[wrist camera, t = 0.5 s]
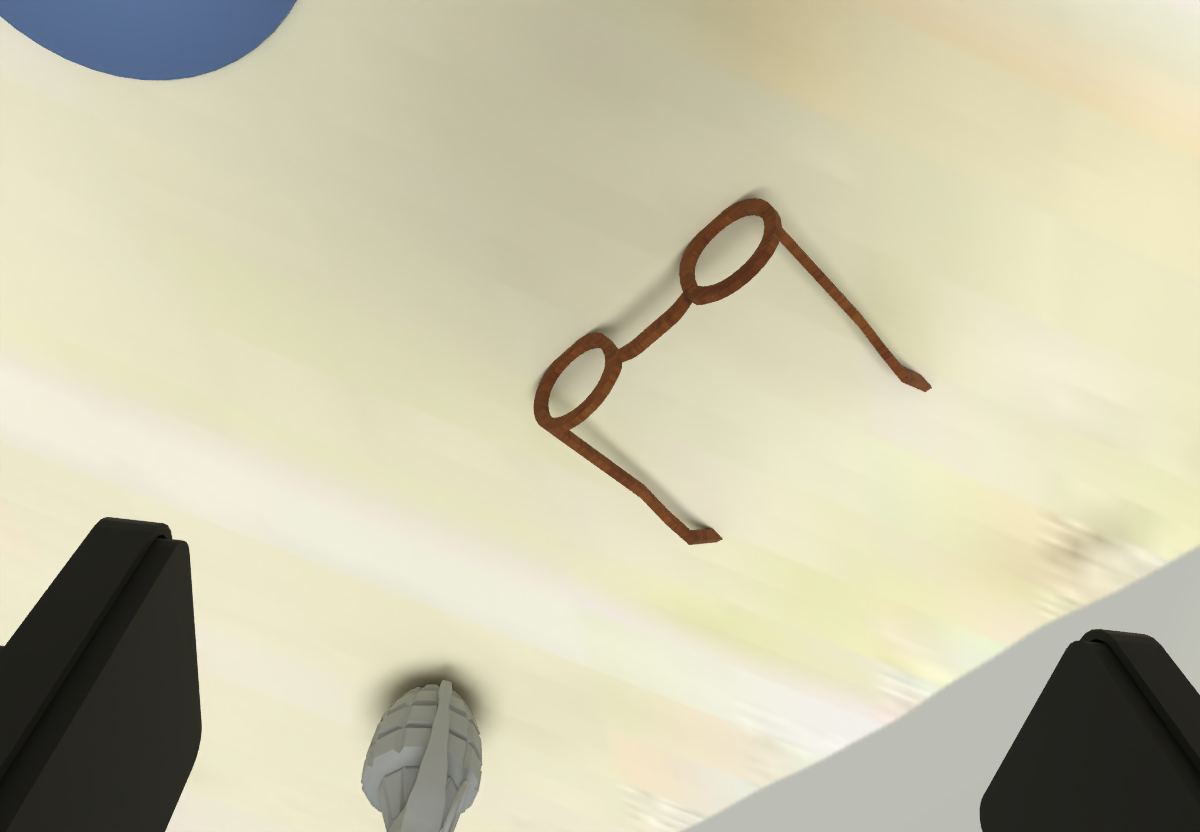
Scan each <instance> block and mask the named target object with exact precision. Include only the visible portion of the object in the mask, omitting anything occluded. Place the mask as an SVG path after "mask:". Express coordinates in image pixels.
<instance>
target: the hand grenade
mask: <svg viewBox="0 0 1200 832" xmlns="http://www.w3.org/2000/svg"><path fill="white" fill-rule="evenodd" d="M479 734H480V733H479V730H478V727H477V725H476V722H475V720H474V717H473V715H472V713H471V711H470V709H469V707H468V706H467V704H466V702H465V701H464V700H463V699H462V698H461V697H460V696H459V695H458V694H457V693H456V692H455V691H454V690H452V684H451V682H450V681H446V680H442V682H441V684H440V687H439V686H438V685H433V684H427V685H426V686H425V687H423V688H422V687H416V688H414V689H412V690H410V691H409V692H407V693H406V694H404V695H402V697H401V698H400V699H398V700H397V701H396V702H395V703H394V705H392V706H391V707H390V709H389V710H388V711H387V712H386V713H385V715H384V716H383V717H382V719H381V722H380V723H379V724H378V726H377V729H376V731H375V734H374V736H373V739H372V741H371V744H370V747H369V750H368V752H367V755H366V760H365V762H364V767H363V773H362V779H361V783H362V784H363V786H362V790H363V792H364V793H365V795H366V797H367V798H368V800H369V802H370V803H371V805H372V806H373V807H375V808H376V809H377V810H378V811H380V812H382V815H383V819H384V823H385V826H386V830H387V832H440V831H441V830H442V831H441V832H454V829H455V827H456V824H457V822H458V819H459V816H460V814H461V813H463V812H465V810H466V809H467V808H469V807H470V806H471V805H472V803H473V801H474V799H475V797H476V795H477V792H478V790H479V785H480V779H481V773H482V772H481V766H482V748H481V739H480V737H479Z"/></svg>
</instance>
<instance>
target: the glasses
mask: <svg viewBox="0 0 1200 832" xmlns="http://www.w3.org/2000/svg"><path fill="white" fill-rule="evenodd" d="M750 215H756V216H760V217H762V218H763V220H764V226H765V228H764V235H763V238H762V241H761V243H760V244H759V246H758V248H757V250H756V251H755V252H754V254H753V255H752V256H751V257H750V259H749V260H748V261H747V262H746V263H745V264H744V265H743V266H742V267H741V268H740V269H739V270H737V271H736V272H735V273H733V274H732V275H731V276H729V277H728V278H726V279H725V280H723V281H721V282H719V283H717V284H714V285H710V286H704V287H702V286H698V285H697V283H696V280H695V265H696V262H697V259H698V258H699V256H700V254H701V252H702V251H703V249H704V248H705V247H706V245H707V244H708V243H709V242H710V241H711V240H712V239H713V238H714V237H715V236H716V235H717V234H718V233H719V232H720V231H721V230H722V229H724V228H725V227H726V226H728V225H729V224H731V223H732V222H734V221H736V220H738V219H740V218H742V217H745V216H750ZM779 241H780V242H781V243H782V244H783V245H784V246H785V247H786V248H787V249H788V250H789V252H790V253H791V254H792V255H793V256H794V257H795V258H796V259H797V260H798V261H799V262H800V263H801V265H802V266H803V267H804V268H805V269H806V270H807V271H808V272H809V273H810V274H811V275H812V276H813V278H814V279H815V280H816V281H817V282H818V283H819V284H820V285H821V286H822V287H823V288H824V289H825V291H826V292H827V293H828V294H829V295H830V296H831V297H832V298H833V299H834V300H835V301H836V302H837V304H838V305H839V306H840V307H841V308H842V309H843V310H844V311H845V312H846V313H847V314H848V315H849V317H850V318H851V319H852V320H853V321H854V322H855V323H856V324H857V325H858V326H859V328H860V329H861V330H862V331H863V333H864V334H865V335H866V337H867V338H868V339H869V341H870V342H871V343H872V345H873V346H874V347H875V349H876V350H877V351H878V353H879V354H880V355H881V357H882V358H883V359H884V360H885V362H886V363H887V364H888V365H889V367H890V368H891V369H892V370H893V371H894V373H895V374H896V375H897V376H898V378H899V379H900V380H901V381H902V382H903V383H906V384H908V385H910V386H913V387H915V388H917V389H920V390H922V391H924V392H926V391H927V390H929V389H931V388H932V387H931V385H930V384H929V383H928V382H927V381H926V380H925V379H924V378H923V377H922V376H921V375H920V374H917V373H915V372H913V371H911V370H909V369H907V368H905V367H903V366H902V365H901V364H900V363H899V362H898V361H897V359H896V358H895V357H894V356H893V355H892V353H891V352H890V351H889V350H888V348H887V347H886V346H885V345H884V344H883V342H882V341H881V340H880V338H879V337H878V336H877V335H876V333H875V332H874V331H873V329H872V328H871V327H870V325H869V324H868V323H867V322H866V320H865V319H864V318H863V316H862V315H861V314H860V313H859V312H858V311H857V309H856V308H855V307H854V306H853V305H852V304H851V303H850V302H849V301H848V300H847V298H846V297H845V296H844V295H843V294H842V293H841V292H840V291H839V290H838V289H837V287H836V286H835V285H834V284H833V283H832V282H831V281H830V280H829V279H828V277H827V276H826V275H825V274H824V273H823V272H822V271H821V270H820V269H819V268H818V266H817V265H816V264H815V263H814V262H813V261H812V260H811V259H810V258H809V257H808V255H807V254H806V253H805V252H804V251H803V250H802V249H801V248H800V247H799V246H798V244H797V243H796V242H795V241H794V240H793V239H792V238H791V237H790V236H789V235H788V233H787V232H786V231H785V230H784V229H783V228H782V224H781V218H780V216H779V214H778V213H777V211H776V210H775V209H774V208H773V207H772V206H771V205H770V204H769V203H768V202H766V201H764V200H762V199H756V198H754V199H747V200H744V201H741V202H738V203H736V204H734V205H732V206H730V207H729V208H727V209H726V210H724V211H723V212H722V213H721V214H720V215H718V216H717V217H716V218H715V219H714V220H713V221H712V222H711V223H709V224H708V225H707V226H706V227H705V228H704V229H703V230H702V231H700V232H699V233H698V234H697V235H696V237H695V238H694V239H693V240H692V242H691V243H690V245H689V246H688V247H687V249H686V251H685V253H684V255H683V257H682V260H681V263H680V272H679V276H680V283H681V287H682V290H683V293H682V294H681V296H680V297H679V298H678V299H677V301H676V302H675V303H674V304H673V305H672V306H671V307H670V308H669V309H668V310H667V311H666V312H665V313H664V314H662V315H661V316H660V317H659V318H658V319H657V320H655V321H654V322H653V323H652V324H651V325H650V326H649V327H647V328H646V329H645V330H644V331H643V332H642V333H640V334H639V335H638V336H637V337H636V338H635V339H634V340H632V341H631V342H630V343H628V344H627V345H625V346H624V347H622V348H620V349H618V348H617V347H616V345H615V344H614V343H613V342H612V341H611V340H610V339H609V338H607V337H606V336H605V335H603V334H602V333H593V334H589V335H587V336H585V337H583V338H581V339H579V340H578V341H576V342H575V343H574V344H573V345H572V346H571V347H570V348H569V349H567V350H566V351H565V352H564V353H563V354H562V355H561V356H559V357H558V358H557V359H556V360H555V361H554V362H553V363H552V364H551V366H550V367H549V369H548V370H547V371H546V373H545V374H544V376H543V378H542V379H541V381H540V383H539V386H538V388H537V391H536V395H535V399H534V415H535V419H536V421H537V422H538V424H539V425H540V426H541V427H543V428H544V429H545V430H547V431H548V432H549V433H551V434H552V435H554V436H555V437H556V438H558V439H559V440H561V441H562V442H563V443H565V444H566V445H568V446H569V447H570V448H572V449H573V450H575V451H576V452H577V453H579V454H580V455H582V456H583V457H584V458H586V459H587V460H589V461H590V462H591V463H593V464H594V465H596V466H597V467H598V468H600V469H601V470H602V471H604V472H605V473H607V474H608V475H609V476H611V477H612V478H614V479H615V480H616V481H618V482H619V483H621V484H622V485H623V486H625V487H626V488H628V489H629V490H630V491H632V492H633V493H635V494H636V495H637V496H639V497H640V498H641V499H642V500H643V501H644V502H645V503H646V504H647V505H648V506H649V507H650V508H651V509H652V510H653V511H654V512H655V513H656V514H657V515H658V516H659V517H660V518H661V520H662V521H663V522H664V523H665V524H666V525H668V526H669V527H670V528H671V529H672V530H673V531H674V532H675V533H677V534H678V535H679V536H680V537H681V538H682V539H683V540H684V541H686V542H687V543H688V544H689V545H693V544H703V543H713V542H718V541H720V540H722V538H721V537H720V536H719V534H718V533H717V532H716V531H715V530H714V529H704V530H690V529H689V528H687V527H686V526H685V525H684V524H683V523H682V522H681V521H680V520H679V519H678V518H676V517H675V516H674V515H673V514H672V513H671V512H670V511H669V510H668V509H667V508H666V507H665V506H664V505H663V504H662V503H661V502H660V501H659V500H658V499H657V498H656V497H655V496H654V495H653V494H652V493H651V492H650V491H649V490H648V489H647V487H646V486H645V485H643V484H642V483H641V482H639V481H638V480H637V479H635V478H634V477H632V476H631V475H630V474H628V473H627V472H626V471H624V470H623V469H622V468H620V467H619V466H617V465H616V464H615V463H613V462H612V461H611V460H609V459H608V458H606V457H605V456H604V455H602V454H601V453H600V452H598V451H597V450H595V449H594V448H593V447H591V446H590V445H589V444H587V443H586V442H585V441H583V440H582V439H580V438H579V437H578V436H576V435H575V434H574V433H572V432H571V431H569V430H570V429H572V428H574V427H575V426H577V425H579V424H580V423H581V422H583V421H584V420H585V419H587V418H588V417H589V416H590V415H591V414H592V413H593V412H594V411H595V410H596V409H597V408H598V407H599V406H600V405H601V403H602V402H603V401H604V400H605V398H606V397H607V395H608V394H609V393H610V391H611V389H612V387H613V386H614V384H615V382H616V380H617V378H618V376H619V374H620V372H621V369H622V362H624V361H627V360H630V359H632V358H634V357H636V356H637V355H639V354H640V353H642V352H643V351H644V350H645V349H646V348H648V347H649V346H650V345H651V344H652V343H653V342H655V341H656V340H657V339H658V338H659V337H661V336H662V335H663V334H664V333H665V332H666V331H668V330H669V329H670V328H671V327H672V326H673V325H674V324H676V323H677V322H678V321H679V320H680V319H681V317H682V316H683V315H684V314H685V312H686V311H687V309H688V308H689V306H690V305H691V303H692V302H693V303H694V304H696V305H703V304H708V303H712V302H715V301H718V300H721V299H723V298H725V297H727V296H729V295H731V294H732V293H734V292H735V291H737V290H739V289H740V288H741V287H742V286H744V285H745V284H746V283H748V282H749V281H750V280H751V279H752V278H753V277H754V276H755V275H756V274H757V273H758V272H759V271H760V270H761V269H762V268H763V267H764V266H765V264H766V263H767V262H768V260H769V259H770V258H771V256H772V255H773V253H774V251H775V249H776V248H777V246H778V244H779ZM594 348H601V349H602V350H603V353H604V355H605V368H604V372H603V374H602V376H601V379H600V380H599V382H598V384H597V386H596V387H595V389H594V390H593V391H592V393H591V394H590V395H589V396H588V397H587V398H586V400H585V401H584V402H582V403H581V404H580V405H579V406H578V407H577V408H575V409H574V410H573V411H571V412H570V413H568V414H566V415H564V416H561V417H558V418H552V417H551V416H550V413H549V409H548V401H549V396H550V392H551V390H552V387H553V385H554V383H555V381H556V380H557V378H558V377H559V375H560V374H561V373H562V371H563V370H564V369H565V368H566V367H567V366H568V365H569V364H570V363H571V362H572V361H573V360H574V359H576V358H577V357H578V356H579V355H581V354H583V353H584V352H586V351H588V350H590V349H594Z"/></svg>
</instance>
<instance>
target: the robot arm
mask: <svg viewBox="0 0 1200 832" xmlns="http://www.w3.org/2000/svg"><path fill="white" fill-rule="evenodd" d="M201 732H202V723H201V709H200V695H199V681H198V666H197V652H196V638H195V624H194V610H193V595H192V581H191V567H190V553H189V547H188V544H187V542H185V541H182V540H174V539H172V535H171V530H170V529H169V527H168V525H166V524H164V523H156V522H147V521H138V520H129V519H120V518H111V517H106V518H103V519H101V520H100V521H99V522H98V523H97V524H96V525H95V526H94V527H93V529H92V530H91V531H90V533H89V534H88V535H87V537H86V538H85V539H84V541H83V542H82V543H81V545H80V546H79V547H78V549H77V550H76V551H75V553H74V554H73V555H72V557H71V558H70V559H69V561H68V562H67V563H66V565H65V566H64V567H63V569H62V570H61V571H60V573H59V574H58V575H57V577H56V578H55V579H54V581H53V582H52V583H51V585H50V586H49V588H48V589H47V590H46V592H45V593H44V594H43V596H42V597H41V598H40V600H39V601H38V602H37V604H36V605H35V606H34V608H33V609H32V610H31V612H30V613H29V614H28V616H27V617H26V618H25V620H24V621H23V622H22V624H21V625H20V626H19V628H18V629H17V630H16V632H15V633H14V634H13V636H12V637H11V638H10V640H9V641H8V642H7V644H6V645H5V646H0V832H165V830H166V828H167V826H168V823H169V821H170V819H171V816H172V814H173V812H174V809H175V807H176V805H177V802H178V800H179V798H180V796H181V793H182V791H183V789H184V786H185V784H186V782H187V779H188V777H189V775H190V772H191V770H192V768H193V765H194V762H195V760H196V757H197V753H198V750H199V745H200V740H201ZM980 823H981V828H982V831H983V832H1200V695H1199V694H1198V692H1197V691H1196V690H1195V688H1194V687H1193V686H1192V685H1191V683H1190V682H1189V681H1188V679H1187V678H1186V677H1185V675H1184V674H1183V673H1182V672H1181V670H1180V669H1179V668H1178V666H1177V665H1176V664H1175V663H1174V661H1173V660H1172V659H1171V657H1170V656H1169V655H1168V654H1167V653H1166V651H1165V650H1164V648H1163V647H1162V646H1161V645H1160V644H1159V643H1158V642H1157V641H1156V640H1155V639H1154V638H1152V637H1150V636H1148V635H1145V634H1137V633H1128V632H1120V631H1111V630H1102V629H1095V630H1091V631H1089V632H1087V633H1085V635H1084V636H1083V637H1082V638H1081V639H1080V641H1075V642H1073V643H1071V644H1070V645H1069V646H1068V648H1067V649H1066V650H1065V652H1064V654H1063V656H1062V657H1061V659H1060V661H1059V663H1058V665H1057V666H1056V668H1055V670H1054V672H1053V674H1052V675H1051V677H1050V679H1049V681H1048V682H1047V684H1046V686H1045V688H1044V689H1043V691H1042V693H1041V695H1040V696H1039V698H1038V700H1037V702H1036V703H1035V705H1034V707H1033V709H1032V711H1031V712H1030V714H1029V716H1028V718H1027V719H1026V721H1025V723H1024V725H1023V726H1022V728H1021V730H1020V732H1019V734H1018V735H1017V737H1016V739H1015V741H1014V742H1013V744H1012V746H1011V748H1010V749H1009V751H1008V753H1007V755H1006V757H1005V759H1004V760H1003V762H1002V764H1001V766H1000V767H999V769H998V771H997V772H996V774H995V776H994V778H993V780H992V781H991V783H990V785H989V787H988V789H987V790H986V792H985V794H984V796H983V798H982V801H981V805H980Z"/></svg>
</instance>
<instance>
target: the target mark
mask: <svg viewBox="0 0 1200 832" xmlns="http://www.w3.org/2000/svg"><path fill="white" fill-rule="evenodd" d="M295 1H296V0H0V16H1V17H2V18H3V19H5V20H6V21H7V22H8V23H10V24H11V25H12V26H13V27H14V28H16V29H17V30H18V31H20V32H21V33H23V34H24V35H26V36H27V37H29V38H30V39H32V40H33V41H35V42H36V43H38V44H39V45H41V46H43V47H44V48H46V49H48V50H50V51H52V52H54V53H56V54H58V55H60V56H61V57H63V58H65V59H67V60H70V61H72V62H75V63H77V64H80V65H82V66H85V67H87V68H90V69H93V70H96V71H100V72H104V73H107V74H111V75H115V76H119V77H126V78H133V79H140V80H173V79H181V78H188V77H194V76H197V75H201V74H204V73H208V72H211V71H215V70H217V69H219V68H221V67H223V66H226V65H228V64H230V63H232V62H234V61H236V60H238V59H240V58H241V57H243V56H244V55H246V54H247V53H249V52H250V51H252V50H253V49H255V48H256V47H257V46H259V45H260V44H261V43H262V42H263V41H264V40H265V39H266V38H267V37H268V36H269V35H271V34H272V33H273V32H274V31H275V29H276V28H277V27H278V26H279V24H280V23H281V22H282V21H283V19H284V18H285V17H286V16H287V14H288V13H289V12H290V10H291V8H292V6H293V5H294V3H295Z"/></svg>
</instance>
